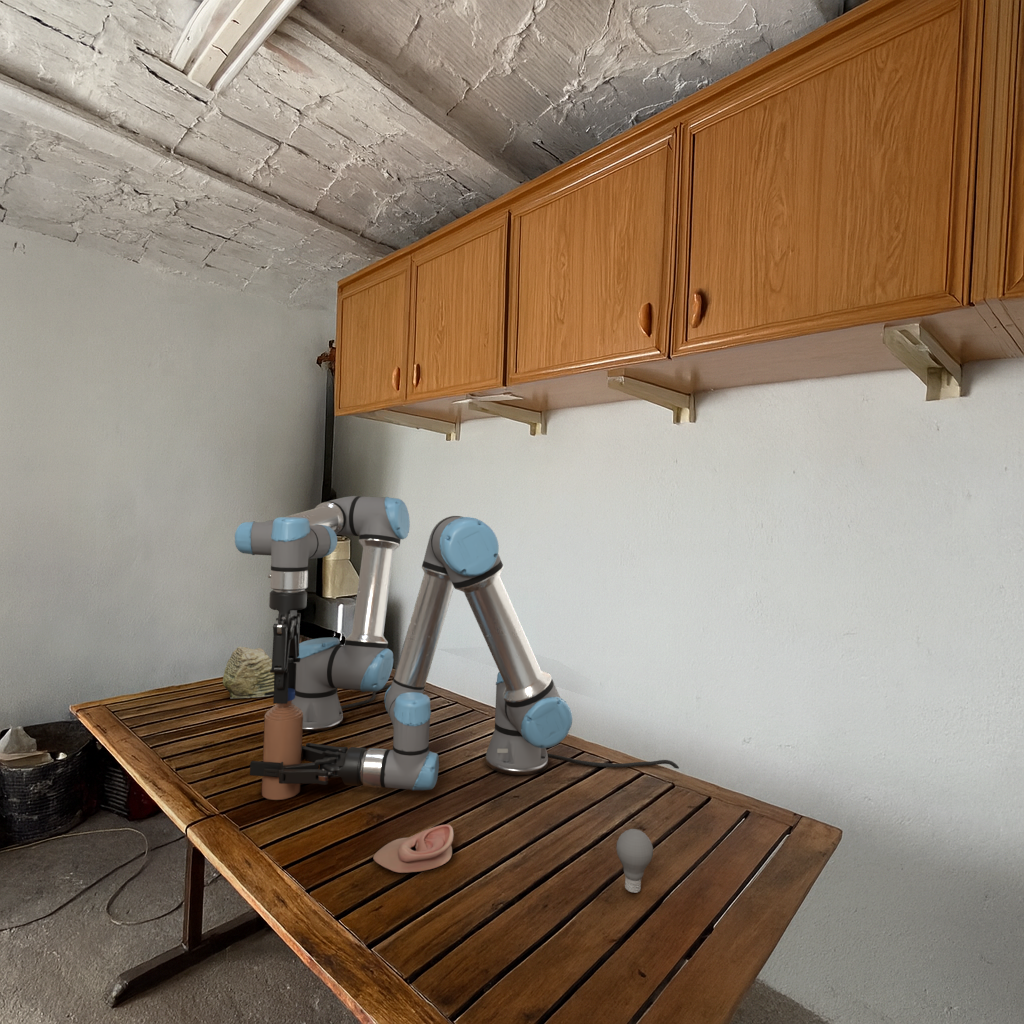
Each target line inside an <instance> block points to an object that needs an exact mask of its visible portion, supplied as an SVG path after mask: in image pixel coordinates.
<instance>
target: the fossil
mask: <svg viewBox="0 0 1024 1024" xmlns="http://www.w3.org/2000/svg"><path fill="white" fill-rule="evenodd" d="M271 668H272V657H270V656H269V655H268V654H267V653H266V652H265V650H264V649H263V648H260V647H258V648H251V647H247V646H246V647H245V646H238V647H237V648H236V649H235V650H233V651H232V653H231V656H230V657H229V659H228V660H227V663H226V666H225V668H224V671H223V675H222V676H223V677H222V685H223V687H224V688H225V690H226V691H228V693H229V698H230V699H250V698H264V697H271V696H272V697H273V696H274V673H270V670H271Z"/></svg>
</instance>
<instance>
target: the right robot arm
mask: <svg viewBox="0 0 1024 1024" xmlns="http://www.w3.org/2000/svg"><path fill="white" fill-rule="evenodd" d="M499 546H500V545H499V540H498V537H497V535H496V533H495V532H494V530H493V529H492V528H491V527H490V526H489V525H488V524H486V523H485V522H484V521H483V520H480V519H478V518H475V517H471V516H461V515H451V516H447V517H444V518H442V519H441V520H440V521H438V522H437V523H436V524H435V526H434V527H433V529H432V530H431V532H430V534H429V538H428V542H427V546H426V550H425V554H424V557H423V561H422V565H421V569H422V571H423V576H422V580H421V582H420V583H421V584H420V587H419V590H418V594H417V597H416V600H415V604H414V607H413V611H412V614H411V617H410V620H409V623H408V627H407V631H406V635H405V638H404V641H403V645H402V648H401V652H400V655H399V658H398V661H397V665H396V669H395V672H394V675H393V679H392V682H391V684H392V685H391V686H390V687H389V688H386V689H387V690H386V691H385V693H384V708H385V710H386V712H387V713H388V714H387V715H388V716H389V719H390V722H391V725H392V726H393V727H392V728H393V738H392V744H393V745H392V749H388V748H377V747H376V748H375V747H369V748H367V747H357V746H350V747H348V746H333V745H327V744H320V743H314V742H313V743H312V742H307V743H305V745H302V759H301V762H304V761H306V762H305V763H301V764H292V765H283V762H281V763H276V762H263V761H259V760H251V761H250V763H249V776H255V777H262V776H267V777H279V783H280V784H301V785H302V784H303V785H304V784H306V785H307V784H315V785H322V786H326V785H328V784H329V779H334V778H341V780H342V783H343V785H345V786H353V787H354V786H356V787H360V786H362V785H363V786H364V787H371V788H375V789H380V788H385V789H386V788H387V789H397V790H398V789H399V790H410V791H431V790H433V789H435V787H436V784H437V782H438V777H439V771H440V770H439V768H440V761H439V759H440V758H439V754H438V753H436V752H433V751H430V729H431V728H430V726H431V715H432V710H431V699H430V697H429V696H428V694H424V692H425V688H426V684H427V681H428V677H429V674H430V671H431V668H432V664H433V661H434V658H435V653H436V650H437V647H438V645H439V640H440V637H441V633H442V630H443V626H444V623H445V619H446V617H447V612H448V609H449V606H450V603H451V599H452V596H453V593H454V590H458V591H460V592H462V593H464V595H465V598H466V600H467V602H468V605H469V607H470V609H471V611H472V613H473V616H474V618H475V620H476V622H477V625H478V627H479V629H480V631H481V633H482V636H483V638H484V641H485V643H486V645H487V648H488V650H489V651H490V654H491V656H492V658H493V661H494V663H495V666H496V667H497V670H498V673H497V676H496V682H495V686H496V687H495V709H494V710H495V711H494V731H493V732H492V733H493V734H492V736H491V738H490V742H489V744H488V746H487V750H486V753H485V764H486V765H487V767H488V768H490V769H491V770H492V771H495V772H498V773H501V774H504V775H510V776H530V775H536V774H539V773H541V772H544V770H546V769H547V767H548V766H549V759H552V760H553V759H554V760H559V761H563V762H567V763H571V764H575V765H576V764H577V765H583V766H590V767H597V768H598V767H599V768H618V769H619V768H621V769H622V768H633V767H644V766H645V767H647V766H648V767H649V766H650V767H651V766H658V765H669V766H671V767H673V768H674V769H677V770H678V769H680V767H679V766H678V764H677V763H676V762H674V761H672V760H669V759H658V760H652V761H651V760H650V761H634V762H624V763H612V762H611V763H609V762H596V761H587V760H580V759H575V758H571V757H567V756H563V755H557V754H552V753H549V752H548V751H547V749H549V748H552V747H555V746H557V745H559V744H560V743H561V742H562V741H564V739H566V738H567V736H568V734H569V733H570V730H571V728H572V725H573V712H572V709H571V707H570V706H569V704H568V703H567V701H566V700H565V699H563V698H562V697H561V695H560V693H559V691H558V688H557V687H556V684H555V682H554V680H553V678H552V675H551V674H550V673H549V672H548V671H545V670H542V669H541V667H540V664H539V662H538V661H537V658H536V656H535V653H534V650H533V649H532V646H531V643H530V642H529V639H528V637H527V635H526V631H525V630H524V628H523V626H522V623H521V621H520V618H519V616H518V613H517V611H516V609H515V606H514V605H513V602H512V600H511V598H510V596H509V593H508V591H507V589H506V586H505V584H504V582H503V579H502V577H501V575H502V572H503V570H504V564H503V562H502V559H501V556H500V554H499V552H500V547H499Z"/></svg>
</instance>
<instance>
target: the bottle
mask: <svg viewBox="0 0 1024 1024" xmlns="http://www.w3.org/2000/svg"><path fill="white" fill-rule="evenodd" d="M303 733H304V732H303V712H302V710H301V709H300V708H298V707H297V706H296V705H294V704H293V703H292V700H291V701H288V703H287V704H275V705H274V706H272V707H270V708H269V709H268V710H267V711H266V712H265V714H264V719H263V747H262V750H263V751H262V762H276V763H281V762H283V765H292V764H302V761H301V759H302V746H303ZM301 785H302V784H280V783H279V777H267V776H261V796H262V797H263V798H265V799H267V800H272V801H280V800H287V799H290V798H293V797H295V796H296V795H299V793H300V792H301Z"/></svg>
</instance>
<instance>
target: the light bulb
mask: <svg viewBox="0 0 1024 1024" xmlns="http://www.w3.org/2000/svg"><path fill="white" fill-rule="evenodd" d="M615 849H616V854H617V857H618V859H619V861H620V863H621V865H622V867H623V873H624V874H623V875H624V876H625V878H624V888H625V890H627V891H628V892H630V893H634V894H635V893H639V892H640V891H641V889H642V887H641V886H642V879H643V877H644V875H645V871H646V868H647V867H648V866H649V864H650V863H651V861H652V859H653V855H654V847H653V843H652V841H651V838H649V836H648V835H647V834H646V833H645V832H643V831H642V830H641V829H636V828H629V829H627V830H625V831H623V832H622V833H621V834H620V835H619V837H618V839H617V841H616V847H615Z"/></svg>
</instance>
